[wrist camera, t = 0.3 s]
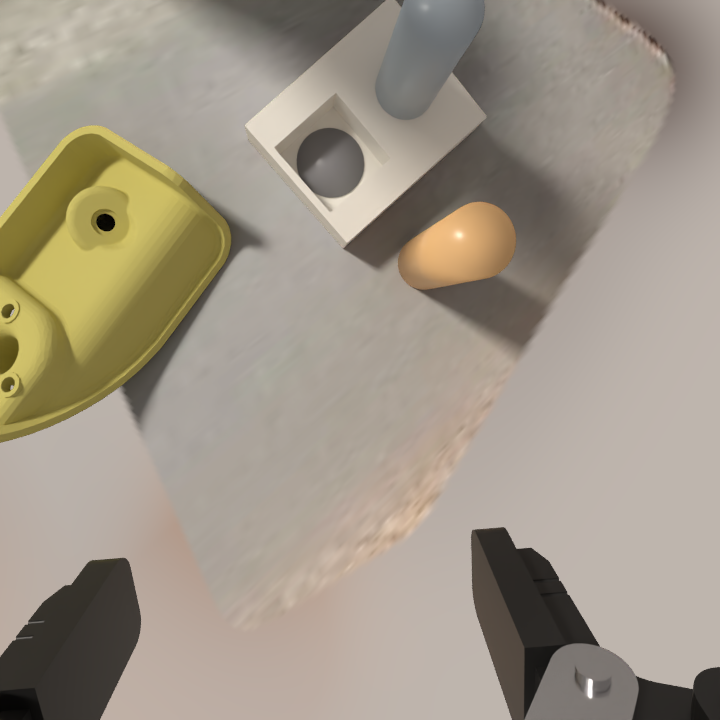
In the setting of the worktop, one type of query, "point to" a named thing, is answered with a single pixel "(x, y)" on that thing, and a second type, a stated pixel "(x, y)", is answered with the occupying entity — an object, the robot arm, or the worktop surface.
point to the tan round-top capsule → (459, 248)
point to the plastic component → (95, 275)
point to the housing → (373, 112)
